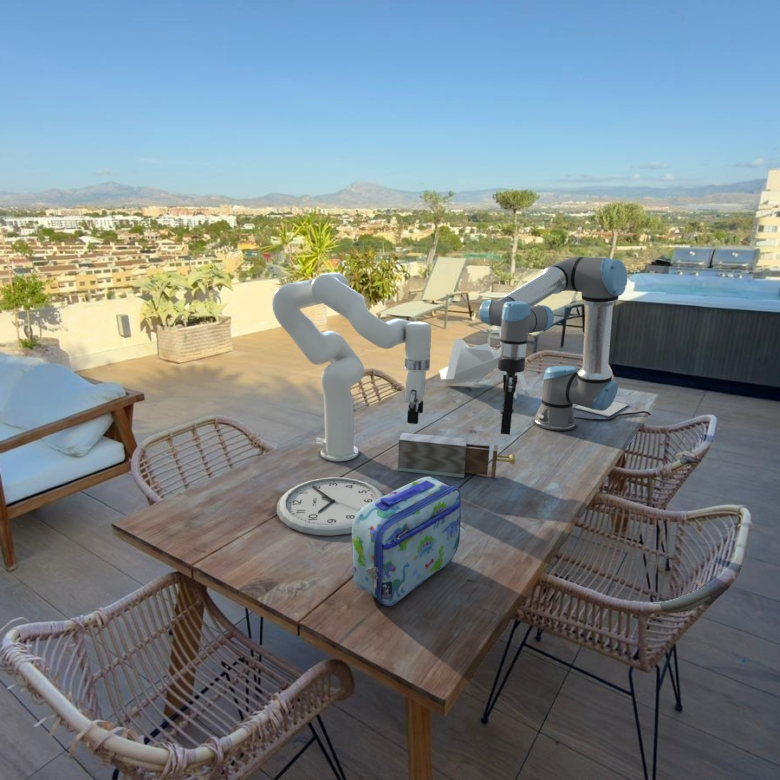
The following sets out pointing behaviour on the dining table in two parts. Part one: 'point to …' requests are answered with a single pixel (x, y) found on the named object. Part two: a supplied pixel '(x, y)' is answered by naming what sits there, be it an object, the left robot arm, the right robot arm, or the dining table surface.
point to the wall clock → (325, 505)
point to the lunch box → (405, 538)
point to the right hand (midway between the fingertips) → (505, 433)
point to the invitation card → (609, 411)
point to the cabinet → (432, 454)
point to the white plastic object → (473, 364)
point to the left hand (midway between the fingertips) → (415, 417)
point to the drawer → (483, 459)
